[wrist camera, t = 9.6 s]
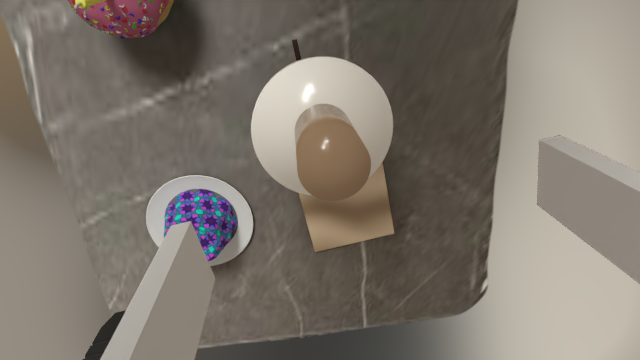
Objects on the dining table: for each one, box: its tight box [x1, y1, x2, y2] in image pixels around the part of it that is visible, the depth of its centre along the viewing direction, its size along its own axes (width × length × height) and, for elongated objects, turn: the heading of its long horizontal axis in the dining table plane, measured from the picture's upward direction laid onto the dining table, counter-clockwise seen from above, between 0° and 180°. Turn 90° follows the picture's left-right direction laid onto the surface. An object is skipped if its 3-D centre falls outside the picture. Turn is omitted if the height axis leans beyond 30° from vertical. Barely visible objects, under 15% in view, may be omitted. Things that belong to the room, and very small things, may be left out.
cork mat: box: [299, 162, 394, 252], centre depth 45 cm, size 10×10×1 cm
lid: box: [251, 56, 393, 201], centre depth 26 cm, size 11×11×9 cm
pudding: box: [146, 175, 253, 266], centre depth 42 cm, size 12×12×5 cm
